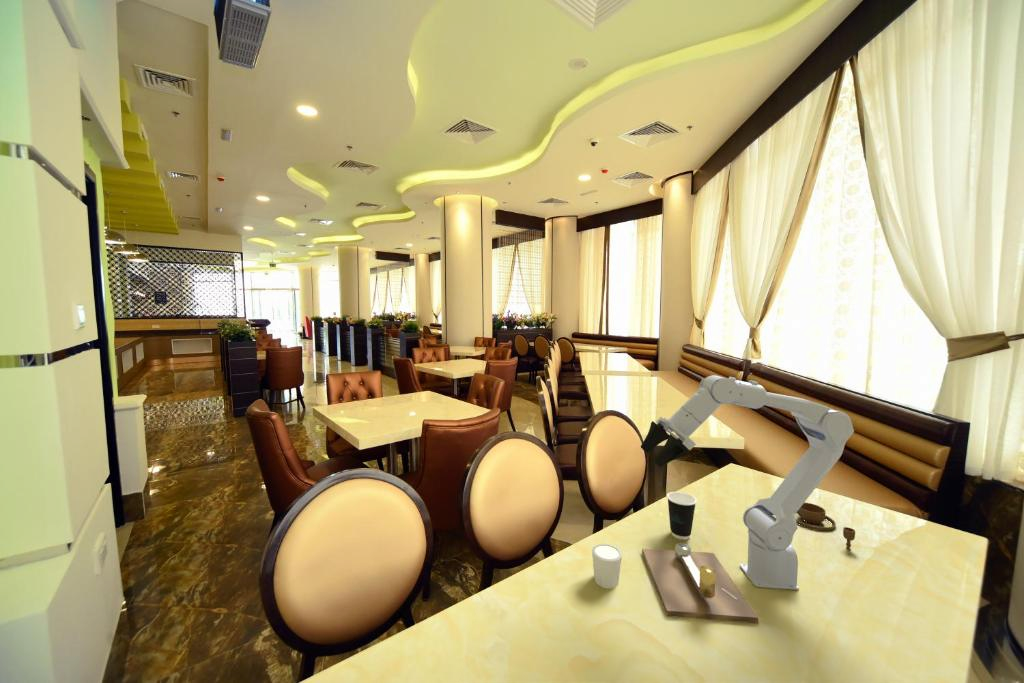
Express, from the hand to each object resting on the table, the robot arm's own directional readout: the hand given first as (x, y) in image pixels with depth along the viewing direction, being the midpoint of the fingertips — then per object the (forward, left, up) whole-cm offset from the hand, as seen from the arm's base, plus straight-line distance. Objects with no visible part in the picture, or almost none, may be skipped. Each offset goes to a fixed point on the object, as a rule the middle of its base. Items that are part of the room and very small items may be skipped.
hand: (649, 456), depth 91 cm
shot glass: (+10, +3, -29) cm, 31 cm away
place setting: (-55, -28, -30) cm, 68 cm away
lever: (-10, +2, -28) cm, 29 cm away
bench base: (-10, +2, -29) cm, 31 cm away
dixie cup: (-14, -19, -29) cm, 38 cm away
